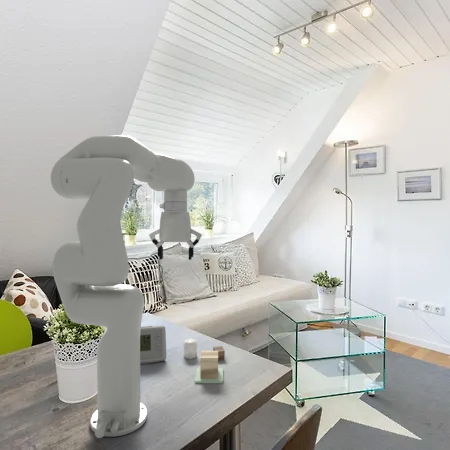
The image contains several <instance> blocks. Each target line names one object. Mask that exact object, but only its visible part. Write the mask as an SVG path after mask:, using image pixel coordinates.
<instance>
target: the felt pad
mask: <svg viewBox="0 0 450 450" xmlns="http://www.w3.org/2000/svg"><path fill="white" fill-rule="evenodd" d="M194 384H224V368H223V367H218V379H200V367H197V368H196V371H195V378H194Z"/></svg>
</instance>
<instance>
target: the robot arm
mask: <svg viewBox="0 0 450 450" xmlns="http://www.w3.org/2000/svg"><path fill="white" fill-rule="evenodd" d="M134 180H137V181H139V182H142V183H147V185H148V186H149V188H150V189H152V190H153V191H155V192H163V203H160V204H159V209H163V211H161V214H160V218H159V219H160V221H159V229H157V230H155V231H153V232H150V233H149V234H148V236H149V238H150V240H151V242H152V243H153V244H154V245H155V246H156V248H157V257H158V259H159V261H161V260H163V258H164V246H163V245H164V243H187V245H188V246H189V247H188V260H189V261H190V260H192V258H194V254H195V253H194V248H195V246H197V245H198V243H199V242H200V240H201V238H202V236H203V235H202V233H200V232H199V231H196V230H195V229H193V228H192V226H191V225H192V224H191V215H190V211H188V191H190V190H191V189H192V188H193V187H194V184H195V173H194V171H193V169H192V168H191V166H190V165H189V164H188V163H186V162H185V161H183V160H181V159H180V158H176V157H173V156H169V155H165V154H162V153H157V152H154V151H152V150H151V149H150V148H149V147H147V146H146V145H145V144H143V143H141V141H138V140H137V139H136V138H134V137H132V136H130V135H123V134H119V135H117V134H116V135H115V134H114V135H98V136H96V135H95V136H90V137H89V138H85V139H84V140H83V141H81V142H79V143H78V144H77V145H75V146H74V147H73V148H72V149H70V150H69V151H68V152H67V153H65V154H64V155H63V156H62V157H60V158H58V160H57V161H56V162H55V164H54V165H53V167H52V169H51V172H50V184H51V187H52V188H53V191H55V192H56V194H58V196H60V197H63V198H65V199H73V200H75V199H77V200H78V199H79V200H80V199H82V200H84V199H85V200H86V199H88V200H87V202H86V204H85V205H84V206H83V208H82V210H81V212H80V213H79V216H78V218H77V222H76V230H77V235H78V239H79V241H76V240H75V241H69V242H66V243H64V244H62V245H60V246H59V248H58V249H57V250H56V252H55V253H54V257H53V260H52V274H53V279H54V282H55V284H56V288H57V291H58V293H59V294H58V295H59V297H60V300H61V303H62V307H63V309H64V311H65V313H66V316H67V317H68V319H69V320H71V321H72V322H73V323H75V324H80V325H87V326H99V327H105V328H106V330H105V332H104V334H103V335H102V337H100V339H99V341H98V343H97V346H96V375H97V376H96V377H97V378H96V380H97V381H96V382H97V383H96V387H97V389H96V390H97V392H96V393H97V395H96V396H97V400H96V401H97V409H96V410H95V411H94V412H93V413H92V415H91V416H90V421H89V423H90V425H89V427H90V429H91V430H92V431H93V432H94V435H95V437H96V438H97V439H101V438H103V437H111V438H112V437H114V438H115V437H120V436H125V435H128V434H130V433H133V432H134V431H137V430H138V429H139V428H141V427H142V426H143V425H144V424H145V423H146V421H147V420H148V419H147V418H148V409H147V407H146V406H145V405H144V404H143V403H142V402H141V364H140V330H141V327H142V320H143V315H144V314H143V313H144V309H145V297H144V294H143V292H142V291H141V290H140V289H139V288H137V287H136V286H133V285H129V284H126V283H125V284H124V282H125V281H126V280H127V279H128V278H129V273H130V265H129V259H128V253H127V249H126V244H125V239H124V234H123V231H122V230H123V229H122V224H121V218H122V213H123V210H124V207H125V204H126V202H127V200H128V197H129V194H130V192H131V190H132V187H133V185H134ZM157 235H158V237H159V240H158V239H156V236H157ZM192 235H194V236H196V237H195V240H194V241H192Z"/></svg>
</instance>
